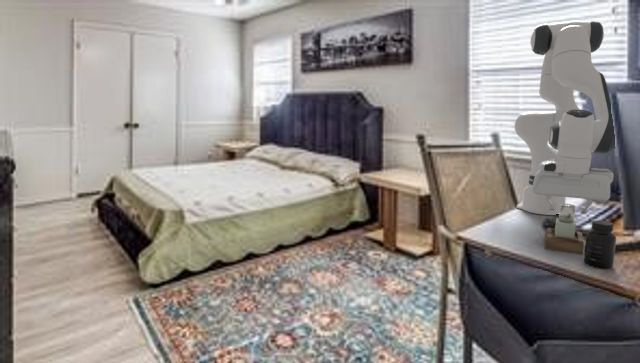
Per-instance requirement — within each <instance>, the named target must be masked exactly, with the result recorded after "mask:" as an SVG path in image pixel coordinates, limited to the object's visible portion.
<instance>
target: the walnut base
mask: <svg viewBox="0 0 640 363" xmlns="http://www.w3.org/2000/svg"><path fill="white" fill-rule="evenodd" d="M544 249H545V250H548V249H551V250H550V251H555V250H557V252H561V253H562V252H563V253H570V254H576V255H577V254H578V255H584V253H585V241H584V237H583V233H582V231H579V230H575V236H574V238H566V237H559V236H555V227H554V228H552V227H546V230H545V235H544Z"/></svg>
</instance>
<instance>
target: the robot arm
mask: <svg viewBox="0 0 640 363" xmlns="http://www.w3.org/2000/svg"><path fill="white" fill-rule="evenodd" d="M604 32H605V31H604V26H603V24H602V23H601V22H599V21H596V20H589V21H580V20H570V21H561V22H560V21H559V22H553V23H549V24H548V23H543V24H540V25H537V26H536V27H535V28H534V30H533V32H532V33H531V37H530V47H531V50H532V52H533V53H534V54H536V55H539V56H544V58H543V62H542V66H541V73H540V74H541V75H540V80H539V82H540V83H539V92H538V93H539V96H540V97H541V99H543V100H544V101H546V102H548V103H550V104H552V105H554V106H555V110H553V111H539V110H536V111H535V110H533V111H528V112H522V113H521V114H519V115H518V116H517V118H516V120H515V122H514V131H515V133H516V135H517V136H518V137H519V138H520V139H521V140H522V141H524V143H525V144H526V145H527V146H528V149H529V152H530V155H531V157H530V158H531V165H530V166H531V169H530V174H529V177H528V185H527V186H526V187H524V189H523V191H522V201H521V202H519V203H518V204H517V205H516V208H517V209H520V210H523V211H525V212H528V213H532V214H537V215H544V216H557V215H556V214H558V213H560V204H566V201H567V200H566V199H567V198H570V199H571V198H572V199H573V198H574V199H582V200H586V204H585V205H584V206H581V207H580V214H582V215H583V214H584V215H587V213H588V209H589V208H590V206H592V205H593V201H603V202H607V201H608V200H609V199H610V198H611V184H612V183H613V181H614V177H615V175H614V172H613V171H612V170H610V169H609V168H606V167H602V168H601V167H600V168H599V167H593V166H591V162H592V154H597V155H606V154H609V153H611V152H612V151H613V150H615V149H616V148H617V147H615V134H614V126H613V119H612V114H611V105H612V101H611V96H610V92H609V88H608V85H607V81H606V78H605V75H604V74H603V73H602V72H600V71H599V70H597V69H596V67H595V65H594V64H593V60H592V53H595V52H596V51H597V50H598V49H600V47H601V45H602V43H603V41H604V38H605V33H604ZM574 91H577V92H579V93H582V94H584V95H586V96H587V97H588V98H590V100H591V102H592V106H593V111H594V113H593V112H591V111H590V110H584V109H580V107H579V106H578V104H577V103H576V100H575V96H574Z"/></svg>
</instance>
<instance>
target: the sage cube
mask: <svg viewBox="0 0 640 363" xmlns="http://www.w3.org/2000/svg"><path fill="white" fill-rule="evenodd" d="M576 226H577V223H576V220H575V219H574V223H563V222H560V221H559V217H557V218H556V217H555V226H554V229H555V236H559V237H566V238H574V236H575V231H576Z"/></svg>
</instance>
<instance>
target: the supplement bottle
mask: <svg viewBox="0 0 640 363" xmlns="http://www.w3.org/2000/svg"><path fill="white" fill-rule="evenodd" d="M585 237H586V238H585V243H584V252H583V255H584V256H583V262H584V264H585V265H586V266H588V267H591V268H595V269H600V270H608V269H611V268H612V267H613V266H614V260H615V253H616V244H617V236H616V234H615V233H614V223H613V222H610V221H606V220H601V219H600V220H598V219H597V220H593V221H592V222H591V230H589V231H587V232H586V236H585Z"/></svg>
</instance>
